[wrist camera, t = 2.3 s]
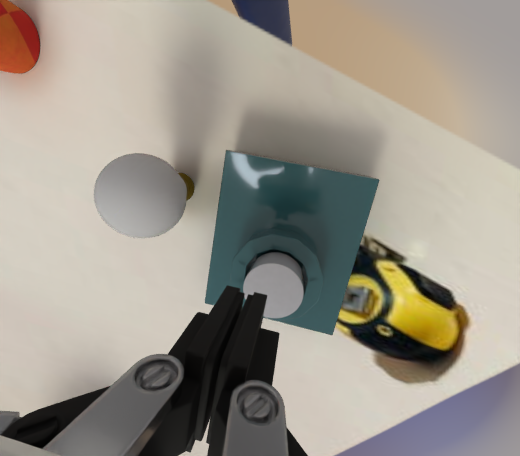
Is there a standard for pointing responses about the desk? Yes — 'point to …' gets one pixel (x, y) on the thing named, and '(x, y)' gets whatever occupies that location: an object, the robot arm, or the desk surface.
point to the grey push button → (276, 283)
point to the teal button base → (290, 229)
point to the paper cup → (17, 39)
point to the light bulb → (141, 195)
